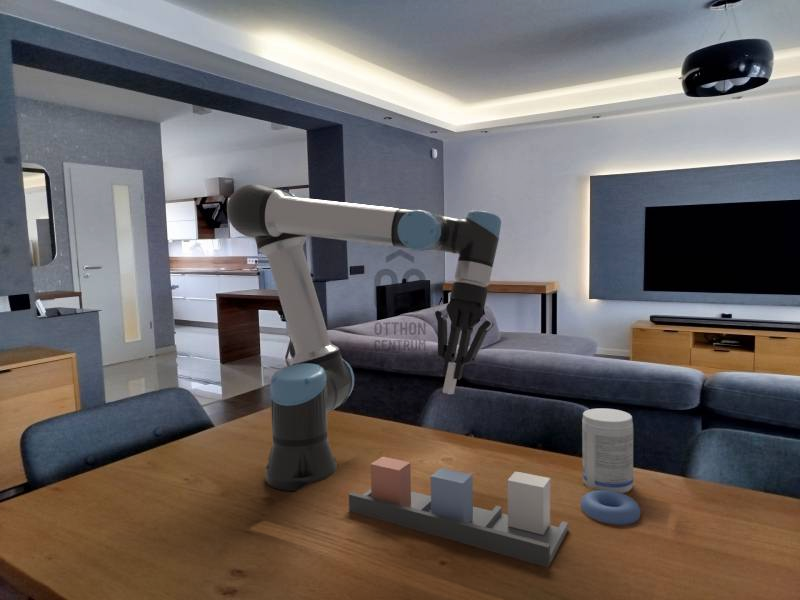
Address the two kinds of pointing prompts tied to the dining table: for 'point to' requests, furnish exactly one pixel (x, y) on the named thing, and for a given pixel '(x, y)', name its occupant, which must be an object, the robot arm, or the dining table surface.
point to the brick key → (391, 481)
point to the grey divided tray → (466, 527)
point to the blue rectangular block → (452, 494)
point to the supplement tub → (607, 449)
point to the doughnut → (618, 512)
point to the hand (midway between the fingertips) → (448, 393)
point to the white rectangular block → (529, 502)
